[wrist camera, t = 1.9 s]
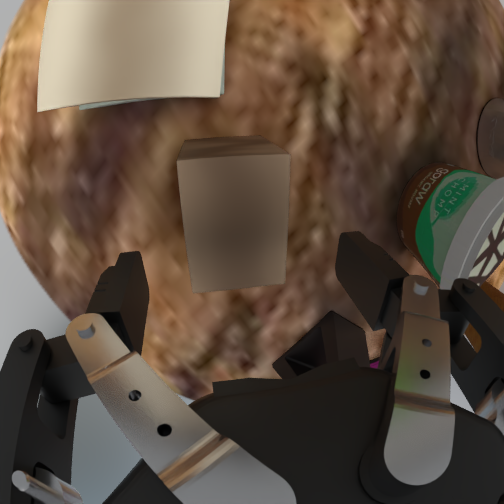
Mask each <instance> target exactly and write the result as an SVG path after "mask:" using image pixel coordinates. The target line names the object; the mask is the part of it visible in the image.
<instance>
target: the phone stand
mask: <svg viewBox="0 0 504 504" xmlns="http://www.w3.org/2000/svg"><path fill="white" fill-rule="evenodd" d="M353 357H354V358H355V360H356V362H357V364H358V366H359V367H370V361H369V354H368V348H367V342H366V336H365V331H364V330H362V329H360V328H359V327H357V326H355V325H354V324H352V323H350V322H349V321H347V320H345V319H344V318H342V317H340V316H339V315H337V314H335V313H334V312H332V311H330V312H329V313H328V314H327V315H326V316H325V317H324V318H323V319H322V320H321V321H320V322H318V323H317V324H316V325H315V326H314V327H313V328H312V329H311V330H310V331H309V332H308V333H307V334H306V335H305V336H303V337H302V340H301V341H300V340H299V341H298V342H297V343H296V344H295V345H293V346H292V347H291V348H290V349H289V350H288V351H287V352H286V353H284V354H283V355H282V356H281V357H280V358H279V359H278V360H276V361H275V362H274V363H273V368H274V369H275V371H276V372H277V373H278V374H279V375H280V377H281V378H282V379H292V378H294V377H297V376H299V375H301V374H303V373H306V372H308V371H310V370H312V369H314V368H317V367H319V366H321V365H323V364H328V363H332V362H336V361H341V360H345V359H349V358H353Z"/></svg>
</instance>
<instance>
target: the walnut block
mask: <svg viewBox="0 0 504 504" xmlns="http://www.w3.org/2000/svg"><path fill="white" fill-rule="evenodd" d="M290 156H291V154H289V153H288V152H286V151H285V150H283V149H281V148H280V147H278V146H277V145H275V144H273V143H272V142H270V141H269V140H267V139H265V138H264V137H262V136H234V137H216V138H203V139H191V140H185V141H184V143H183V146H182V148H181V151H180V153H179V156H178V159H177V170H178V181H179V191H180V201H181V210H182V218H183V227H184V235H185V243H186V250H187V257H188V264H189V271H190V278H191V284H192V291H193V293H201V292H212V291H222V290H232V289H241V288H250V287H259V286H268V285H277V284H285V274H286V256H287V237H288V215H289V190H290Z"/></svg>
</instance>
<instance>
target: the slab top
mask: <svg viewBox="0 0 504 504" xmlns="http://www.w3.org/2000/svg"><path fill="white" fill-rule="evenodd" d="M228 8H229V0H49V3H48V8H47V13H46V18H45V24H44V30H43V37H42V44H41V53H40V63H39V76H38V109H37V110H38V112H40V111H46V110H52V109H58V108H65V107H73V106H79V105H86V104H93V103H102V102H111V101H121V100H134V99H151V98H218V97H220V88H221V76H222V65H223V54H224V44H225V35H226V25H227V17H228Z"/></svg>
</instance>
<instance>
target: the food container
mask: <svg viewBox="0 0 504 504" xmlns="http://www.w3.org/2000/svg"><path fill="white" fill-rule="evenodd" d="M397 229H398V234H399V236H400V239H401V241H402V242H403V244H404V245H405V246H406V247H407V249H408V250H409V251H410V252H411V253H412V254H413V256H414V257H415V258H416V259H417V260H418V261H419V263H420V264H421V265H422V266H423V268H424V269H425V270H426V271H427V272H428V274H429V275H430V276H431V277H432V279H433V280H434V281H435V283H436V284H437V285H438V286H439V288H440V289H446V290H450V289H451V287H452V284H453V282H454V280H455V279H457V278H465V279H468V280H471V281H473V282H474V283H476V284H477V285H478V286H479V287H481V285H482V284H483V283H484V282H485V281H486V279H487V278H488V277H489V276H490V275H491V274H492V273H493V272H494V271H495V269H496V268H497V267H498V266H499V265H500V263H501V262H502V261H503V259H504V177H502V178H499V179H497V180H496V179H494V178H491V177H488V176H485V175H482V174H479V173H476V172H473V171H470V170H467V169H463V168H460V167H457V166H453V165H450V164H446V163H443V162H441V163H431V164H429V165H427V166H425V167H423V168H421V169H420V170H419V171H418V172H417V173H416V174H415V175H414V176H413V177H412V178H411V179H410V181H409V182H408V183H407V185H406V187H405V189H404V191H403V193H402V195H401V198H400V201H399V205H398V210H397Z"/></svg>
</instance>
